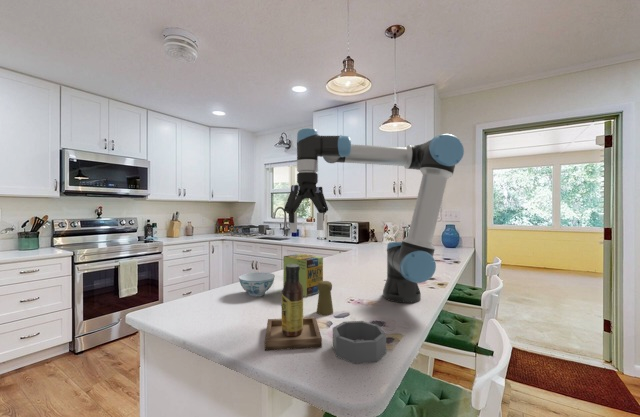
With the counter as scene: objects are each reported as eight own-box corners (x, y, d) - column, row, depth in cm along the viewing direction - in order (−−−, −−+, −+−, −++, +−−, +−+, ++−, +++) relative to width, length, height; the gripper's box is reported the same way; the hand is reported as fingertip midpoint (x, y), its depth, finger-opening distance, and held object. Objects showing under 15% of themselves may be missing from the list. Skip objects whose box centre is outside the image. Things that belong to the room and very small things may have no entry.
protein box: (306, 297, 120) (306, 260, 120) (282, 290, 131) (282, 255, 131) (323, 292, 128) (323, 257, 128) (299, 285, 139) (299, 253, 138)
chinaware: (231, 296, 122) (231, 278, 122) (255, 287, 135) (255, 271, 135) (259, 301, 115) (259, 282, 115) (281, 291, 128) (281, 274, 128)
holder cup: (374, 337, 84) (375, 320, 84) (391, 361, 71) (391, 340, 71) (330, 339, 82) (330, 322, 82) (339, 364, 69) (339, 344, 69)
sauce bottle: (282, 328, 87) (281, 262, 87) (302, 328, 88) (302, 262, 87) (281, 338, 80) (280, 267, 80) (303, 337, 81) (303, 266, 81)
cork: (331, 316, 100) (331, 284, 100) (314, 314, 101) (314, 283, 101) (334, 309, 106) (334, 279, 106) (318, 308, 107) (318, 279, 107)
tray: (315, 324, 92) (315, 316, 92) (321, 347, 78) (321, 338, 78) (267, 327, 91) (267, 319, 91) (264, 350, 76) (264, 341, 76)
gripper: (322, 176, 117) (322, 228, 117) (273, 170, 99) (273, 232, 99) (337, 174, 112) (337, 229, 112) (288, 168, 94) (288, 234, 94)
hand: (307, 231), depth 105 cm, fingers open, 13 cm apart
